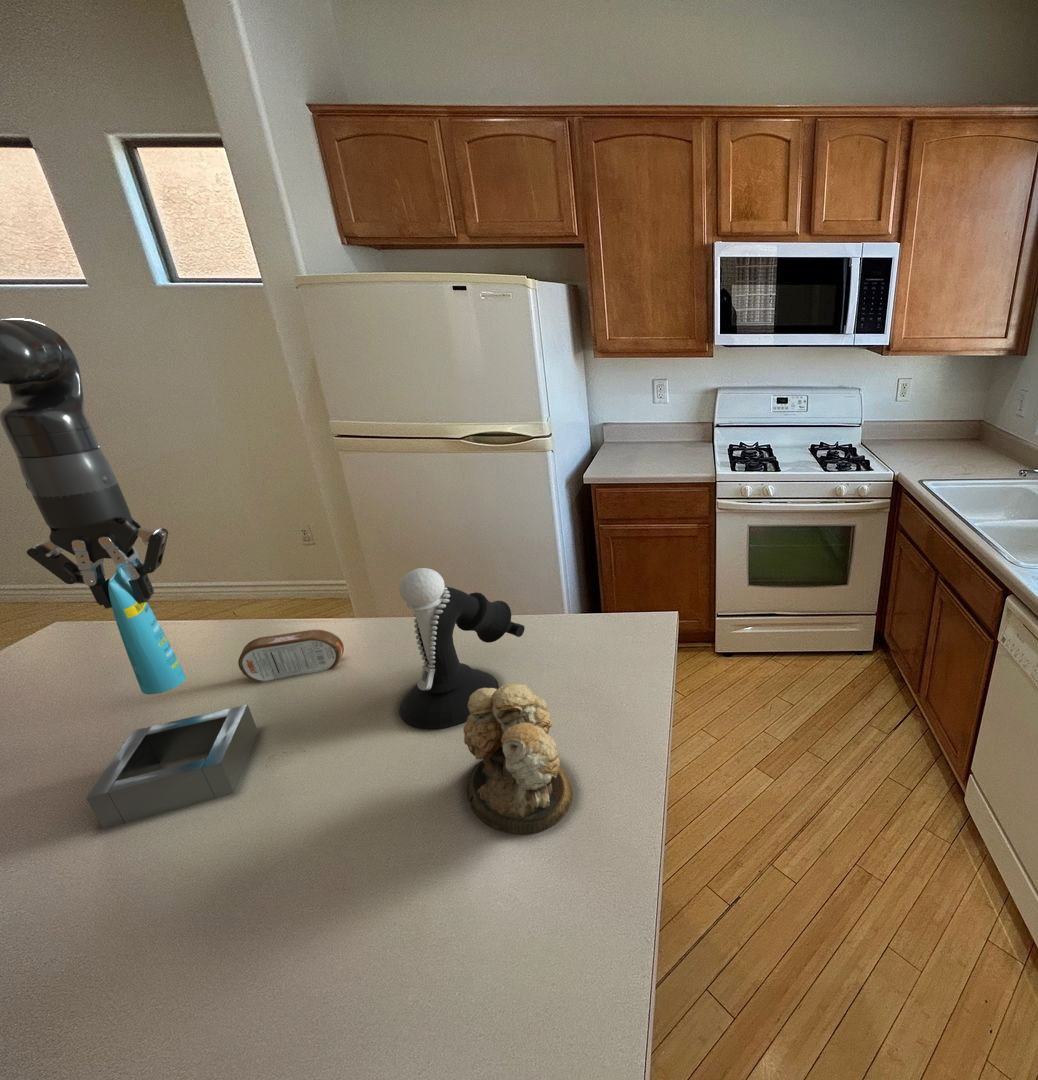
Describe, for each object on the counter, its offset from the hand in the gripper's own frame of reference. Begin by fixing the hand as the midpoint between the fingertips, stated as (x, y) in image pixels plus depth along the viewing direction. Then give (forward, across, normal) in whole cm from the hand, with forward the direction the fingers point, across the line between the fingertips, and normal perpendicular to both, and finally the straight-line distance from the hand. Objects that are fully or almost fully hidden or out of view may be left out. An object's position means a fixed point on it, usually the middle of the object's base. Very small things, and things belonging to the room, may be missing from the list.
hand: (128, 602), depth 78 cm
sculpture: (+23, -41, +8) cm, 48 cm away
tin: (+23, -13, -9) cm, 28 cm away
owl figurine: (+23, -45, +35) cm, 61 cm away
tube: (+14, 0, 0) cm, 14 cm away
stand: (+23, -4, +13) cm, 26 cm away
